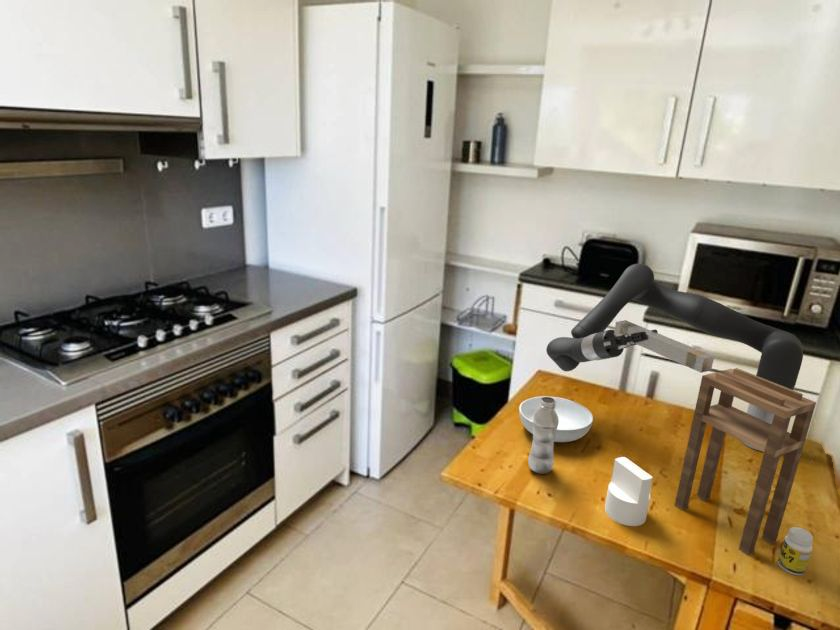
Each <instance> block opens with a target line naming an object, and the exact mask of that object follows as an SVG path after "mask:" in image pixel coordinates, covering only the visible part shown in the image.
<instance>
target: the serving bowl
mask: <svg viewBox="0 0 840 630" xmlns="http://www.w3.org/2000/svg"><path fill="white" fill-rule="evenodd" d="M542 397H548V396H547V395H546V396H545V395H544V396H534V397H531V398H527V399H526V400H523V401H522V402H521V403H520V404H519V409H518V411H519V418H520V422H521V423H522V425H523V427H524V428H525V429H526V430H527V431H528V432H529V433H530V434H532V435H533V416H534V414H535V413H536V411H537V410H538V409H539V408H540V403H541V398H542ZM550 397H551V398H554V399H555V400H556V403H555V409H554V410H555V412H556V413H557V415H558V419H559V423H558V427H557V430H556V434H555V439H554V443H569V442H573V441H577V440H579V439H581V438H582V437H584V436H585V435H587V433H588V432H589V431H590V430H591V427H592V426H593V425H592V424H593V422H594V416H593V413H592V411H590V410H589V409H588V408H587V407H586V406H584V405H582V404H581V403H578V402H576V401H573V400H571V399H567V398H563V397H557V396H550Z"/></svg>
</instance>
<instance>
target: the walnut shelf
mask: <svg viewBox="0 0 840 630" xmlns="http://www.w3.org/2000/svg"><path fill="white" fill-rule="evenodd" d="M698 389H699V390H698V395H697V398H696V403H695V408H694V413H693V419H692V423H691V427H690V432H689V435H688V437H689V438H688V441H687V447H686V451H685V456H684V461H683V464H682V467H681V468H682V469H681V473H680V478H679V483H678V487H677V491H676V492H677V493H676V497H675V502H674V506H675V507H676V508H678V509H680V510H681V511H683V510H686V509H688V507H689V503H690V498H691V495H692V490H693V485H694V480H695V477H696V472H697V467H698V463H699V459H700V455H701V454H700V453H701V449H702V445H703V440H704V436H705V432H706V428H707V427H706V426H707V425H709V426H711V427H712V428H711V433H710V438H709V441H708V445H707V446H708V447H707V451H706V455H705V459H704V464H703V468H702V472H701V477H700V481H699V486H698V490H697V495H696V497H697V498H699V499H700V500H701V501H703V502H706V501H708V500H710V499H711V496H712V495H711V494H712V491H713V486H714V482H715V479H716V474H717V469H718V466H719V461H720V458H721V457H720V456H721V453H722V447H723V445H724V444H723V443H724V440H725V435H726V434H727V435H729V436H731V437H733V438H734V439H737V440H739V441H740V442H742V443H743V442H744V443H746V444H748V445H750V446H752V447H754V448H756V449H758V450H757V451H759V450H760V452H762V453H763V455H762V460H761V464H760V467H759V471H758V475H757V478H756V482H755V485H754V486H755V487H754V490H753V493H752V497H751V501H750V505H749V509H748V512H747V516H746V520H745V524H744V528H743V531H742V535H741V539H740V541H739V542H740V543H739V547H738V550H739V551H740V552H741V553H743V554H745V555H747V556H749V555H752V554H753V553H755V548H756V545H757V540H758V538H759V537H758V536H759V534H760V531H761V527H762V523H763V518H764V516H765V513H766V509H767V505H768V502H769V497H770V495H771V489H772V486H773V483H774V479H775V476H776V472H777V469H778V465H779V461H780V458H781V456H782V455H784V456H783V460H782V463H781V466H780V470H779V474H778V478H777V481H776V485H775V487H774V491H773V495H772V499H771V503H770V506H769V510H768V513H767V517H766V521H765V524H764V529H763V532H762V535H761V539H762V540H763V541H765V542H767V543H768V544H770V545H771V544H773V543H775V542H777V539H778V536H779V532H780V530H781V524H782V522H783V519H784V514H785V511H786V509H787V504H788V501H789V498H790V494H791V492H792V487H793V485H794V482H795V477H796V473H797V470H798V468H799V462H800V460H801V458H802V457H801V456H802V453H803V449H804V446H805V442H806V440H807V439H806V438H807V436H808V433H809V428H810V425H811V422H812V419H813V415H814V412H815V408H816V405H817V402H816V401H814V400H812V399H809V398H807V397H804V394H803V393H802V392H799V391H796V390H794V389H793V390H791V389H789V388H786V387H784V386H781V385H779V384H776V383H774V382H771V381H768V380H766V379H763V378H761V377H758V376H756V375H755V374H753V373H750V372H748V371H745V370H742V369H740V368H738V367H735V368H727V369H723V370H720V371H716V372H712V373H708V374H704V375H702V376H701V380H700V385H699V388H698ZM715 389H716V390H719V391H720V393H719V394H720V395H719V398H718V399H719V400H718V402H717V404H714V405H713V404H712V400H713V396H714V392H715ZM734 397H735V398H737V399H738V400H741V401H744V402H745V403H747V404H749V403H750V404H752V405H754V406H757V407H759V408H761V409H763V410H766V411H768V412H770V413H772V414H774V417H773V421H772V424H769V423H767V422H765V421H763V420H761V419H758V418H756V417H754V416H752V415H750V414H748V413H747V412H745V411H743V410H741V409H738V408H736V407H734V406H733V402H734ZM711 404H712V405H711ZM792 417H794V420H793V424H792V427H791V431H790V432H788V428H789V425H790V421H791V418H792ZM744 443H743V444H744ZM756 449H755V450H756Z"/></svg>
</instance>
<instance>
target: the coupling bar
mask: <svg viewBox="0 0 840 630" xmlns="http://www.w3.org/2000/svg"><path fill="white" fill-rule="evenodd" d="M613 330H614V335H620V334H627V335H628V334H634V333H639V332H643V331H645V332H646V336H647V340H644V341H639V342H635V344H637V345H636V346H640V347H641V348H644V349H646V350H648V351H651V352H653V353H655V354H657V355H660V356H662V357H664V358H666V359H668V360H670V361H671V360H672V361H674V362H676V363H678V364H681V365H683V366H685V367H688V368H689V369H692V370H694V371H696V372H698V373H706V372H711V371H712V367H713V364H714V360H715V355H713V354H710V353H707V352H705V351H702V350H700V349H698V348H695V347H693V346H690V345H688V344H686V343H682V342H680V341H677V340H675V339H673V338H670V337H668V336H666V335H663V334H661V333H656V332H653V331H651V330H652V329H648V328H646V327H644V326H641V325H638V324H636V323H634V322H631V321H628V320H619V321H615V326H614V329H613Z"/></svg>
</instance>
